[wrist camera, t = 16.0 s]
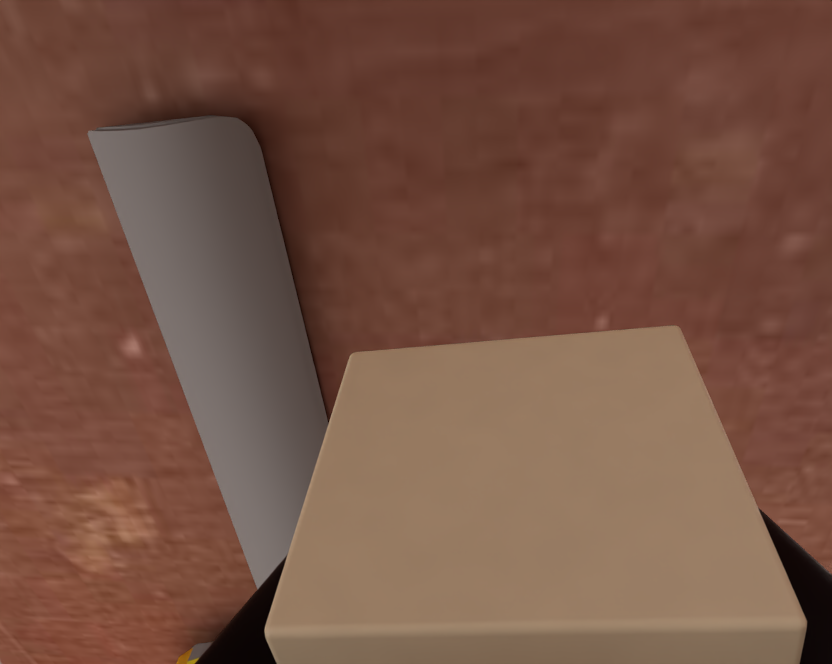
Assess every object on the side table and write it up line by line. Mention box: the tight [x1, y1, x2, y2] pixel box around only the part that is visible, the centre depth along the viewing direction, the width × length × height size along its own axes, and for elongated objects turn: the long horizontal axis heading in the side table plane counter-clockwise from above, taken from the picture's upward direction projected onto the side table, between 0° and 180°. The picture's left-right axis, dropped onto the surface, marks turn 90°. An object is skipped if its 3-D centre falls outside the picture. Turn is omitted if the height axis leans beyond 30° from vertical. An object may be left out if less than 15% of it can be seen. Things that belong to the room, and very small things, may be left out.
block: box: [264, 325, 807, 664], centre depth 8 cm, size 4×4×4 cm
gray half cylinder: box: [88, 115, 328, 589], centre depth 21 cm, size 4×20×2 cm, turn 7°
